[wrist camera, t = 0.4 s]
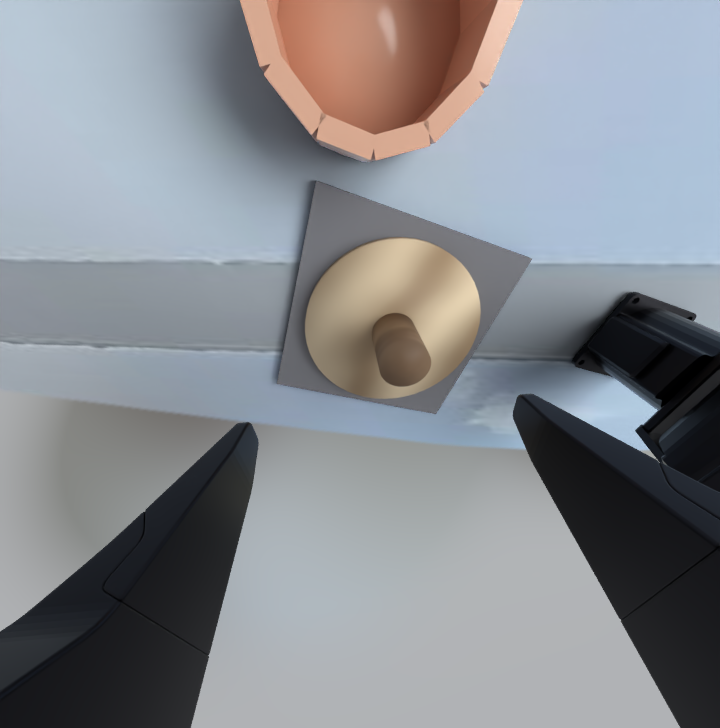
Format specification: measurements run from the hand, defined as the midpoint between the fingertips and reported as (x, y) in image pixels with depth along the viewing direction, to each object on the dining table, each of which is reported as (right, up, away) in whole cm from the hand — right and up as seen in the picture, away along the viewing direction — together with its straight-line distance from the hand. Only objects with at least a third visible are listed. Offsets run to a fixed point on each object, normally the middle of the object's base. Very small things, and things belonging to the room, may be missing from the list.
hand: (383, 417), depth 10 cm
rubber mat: (+1, +5, +11) cm, 12 cm away
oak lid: (+1, +4, +11) cm, 12 cm away
